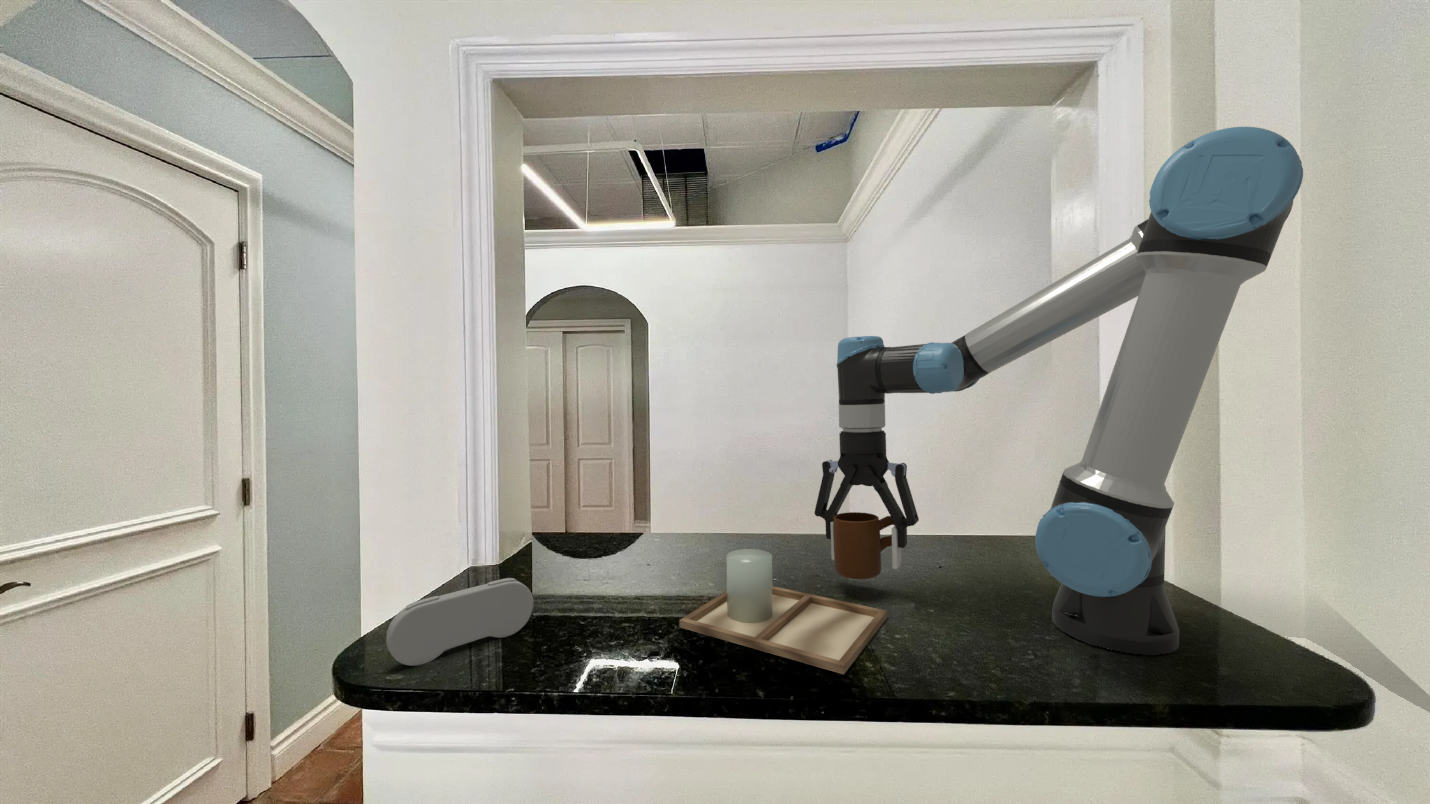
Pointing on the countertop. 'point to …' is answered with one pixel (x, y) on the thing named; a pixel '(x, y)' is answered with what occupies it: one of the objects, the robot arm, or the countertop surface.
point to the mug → (859, 544)
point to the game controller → (458, 620)
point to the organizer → (796, 628)
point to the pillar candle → (749, 585)
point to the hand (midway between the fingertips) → (865, 562)
